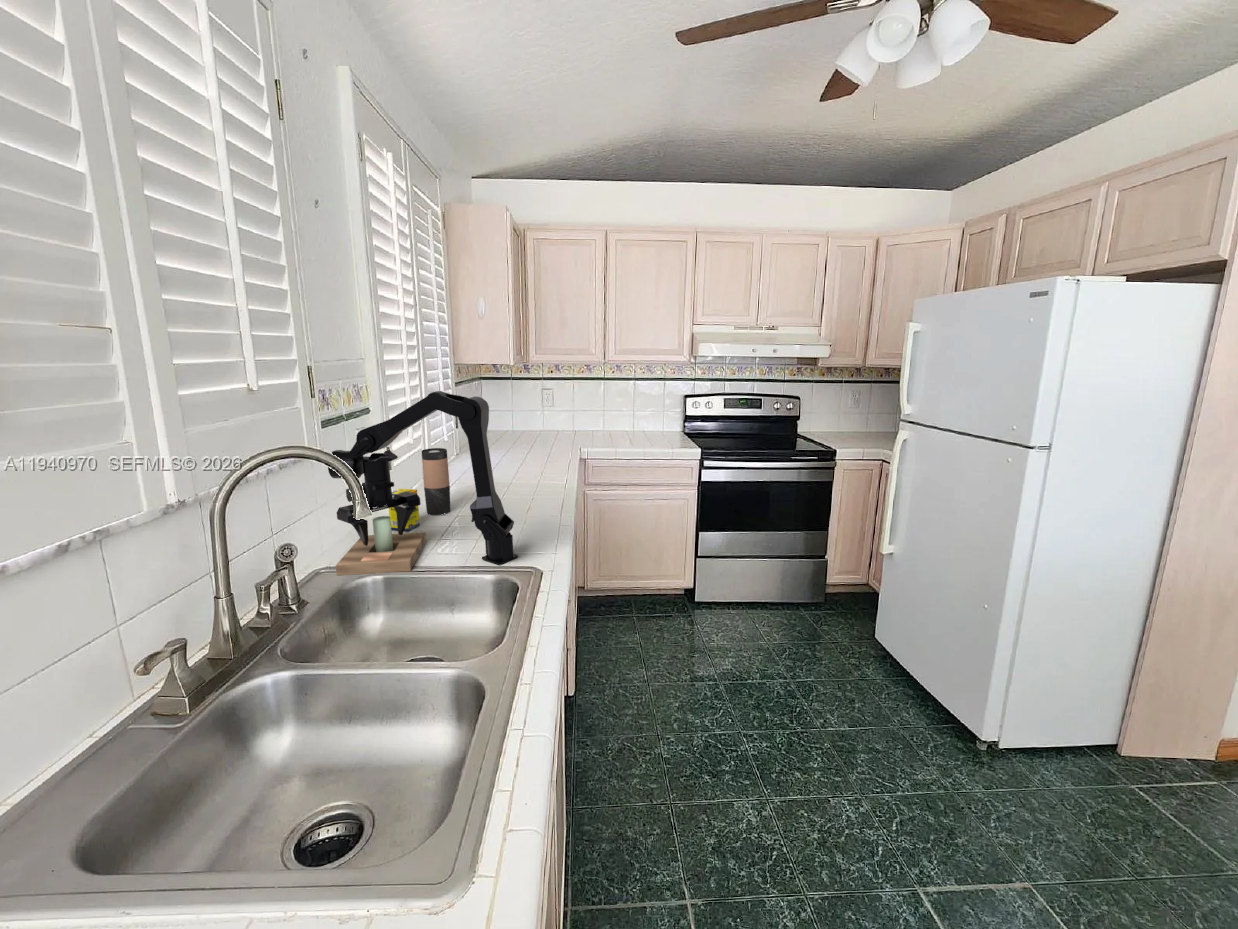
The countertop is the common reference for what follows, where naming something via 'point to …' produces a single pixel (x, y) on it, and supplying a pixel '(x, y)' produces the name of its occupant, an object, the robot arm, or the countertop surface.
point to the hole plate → (382, 555)
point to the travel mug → (436, 480)
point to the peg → (382, 534)
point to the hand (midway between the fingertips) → (383, 539)
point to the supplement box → (413, 518)
